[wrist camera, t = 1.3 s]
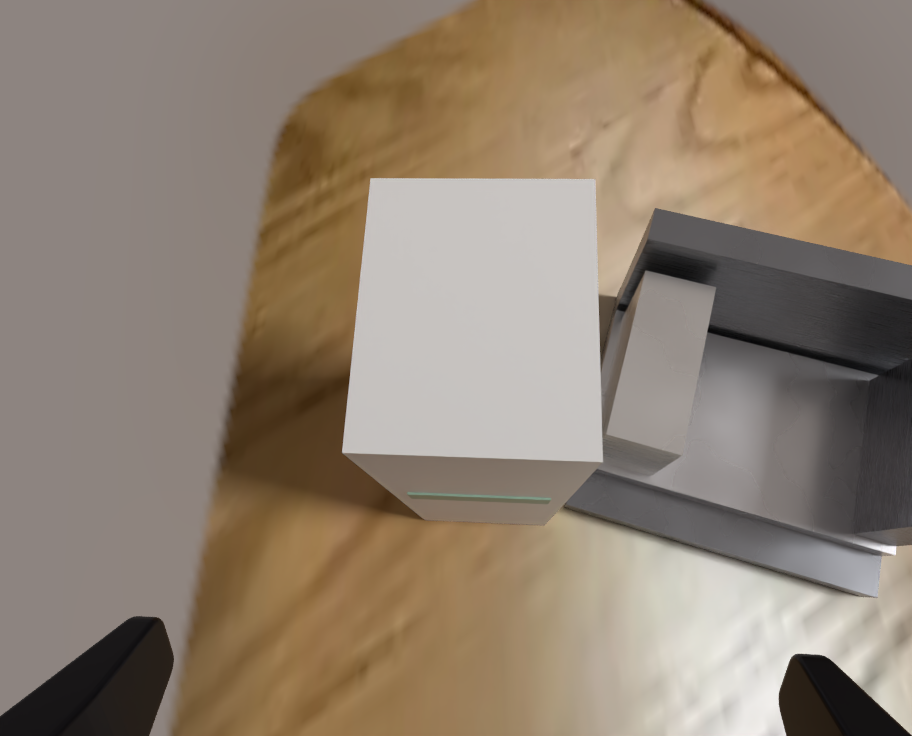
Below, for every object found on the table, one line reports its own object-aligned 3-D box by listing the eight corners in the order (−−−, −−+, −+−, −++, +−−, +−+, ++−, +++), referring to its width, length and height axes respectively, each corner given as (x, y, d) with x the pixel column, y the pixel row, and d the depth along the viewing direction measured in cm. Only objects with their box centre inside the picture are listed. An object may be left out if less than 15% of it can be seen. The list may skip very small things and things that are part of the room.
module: (544, 526, 21) (602, 465, 9) (424, 521, 21) (341, 455, 10) (545, 380, 22) (595, 176, 11) (433, 377, 23) (370, 175, 11)
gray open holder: (862, 597, 20) (1012, 604, 14) (563, 507, 21) (588, 480, 15) (887, 363, 22) (1025, 287, 16) (616, 296, 23) (655, 204, 18)
